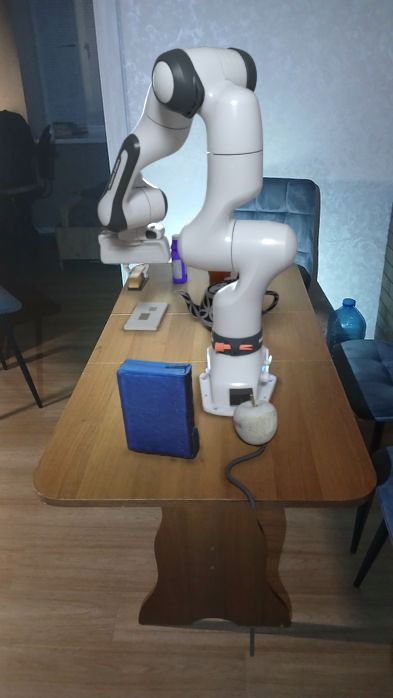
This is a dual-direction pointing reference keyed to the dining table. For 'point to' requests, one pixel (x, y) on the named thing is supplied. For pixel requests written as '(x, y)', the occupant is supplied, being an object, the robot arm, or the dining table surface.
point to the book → (158, 407)
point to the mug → (219, 276)
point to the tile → (146, 316)
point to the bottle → (177, 263)
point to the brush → (137, 279)
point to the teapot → (206, 305)
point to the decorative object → (255, 421)
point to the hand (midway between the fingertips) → (138, 277)
